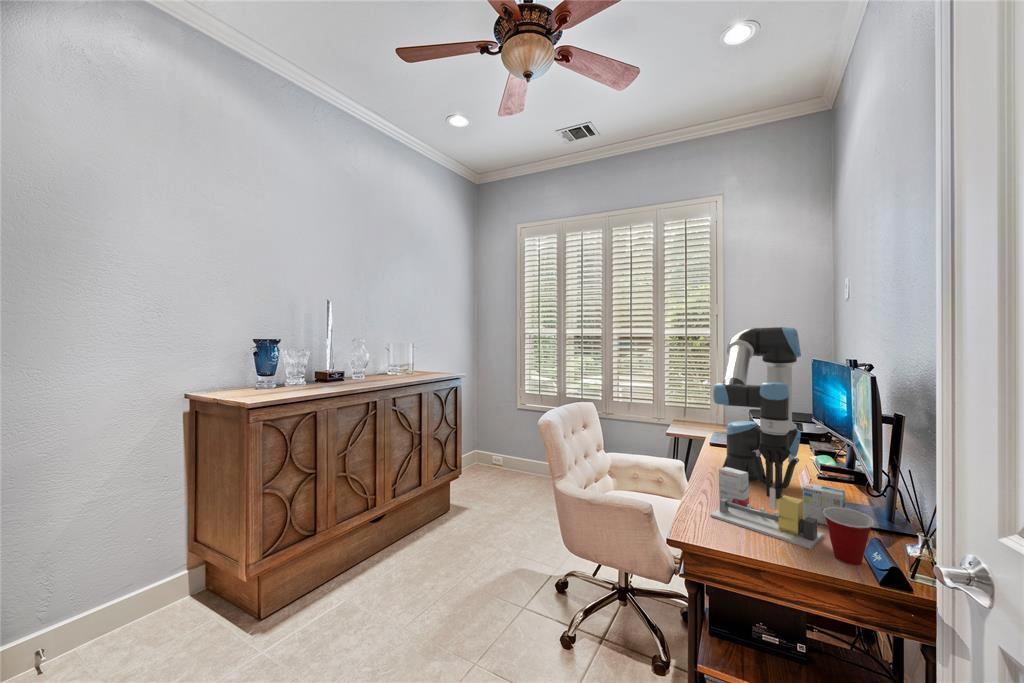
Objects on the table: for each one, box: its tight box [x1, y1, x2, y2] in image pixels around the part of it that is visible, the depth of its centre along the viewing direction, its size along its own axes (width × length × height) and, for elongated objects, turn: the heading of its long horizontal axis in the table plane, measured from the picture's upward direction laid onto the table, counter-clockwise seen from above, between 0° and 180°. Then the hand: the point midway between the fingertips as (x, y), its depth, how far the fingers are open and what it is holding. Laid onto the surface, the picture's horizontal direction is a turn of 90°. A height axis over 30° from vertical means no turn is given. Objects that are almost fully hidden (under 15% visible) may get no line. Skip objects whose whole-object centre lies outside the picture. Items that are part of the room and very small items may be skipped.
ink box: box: [718, 466, 750, 507], centre depth 149 cm, size 9×5×12 cm, turn 33°
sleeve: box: [778, 494, 803, 535], centre depth 125 cm, size 5×5×9 cm
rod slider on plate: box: [710, 498, 824, 550], centre depth 130 cm, size 28×12×6 cm, turn 39°
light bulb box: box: [802, 482, 846, 526], centre depth 134 cm, size 11×7×11 cm, turn 45°
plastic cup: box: [823, 507, 875, 566], centre depth 110 cm, size 11×11×12 cm
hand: (773, 508), depth 128 cm, fingers closed
